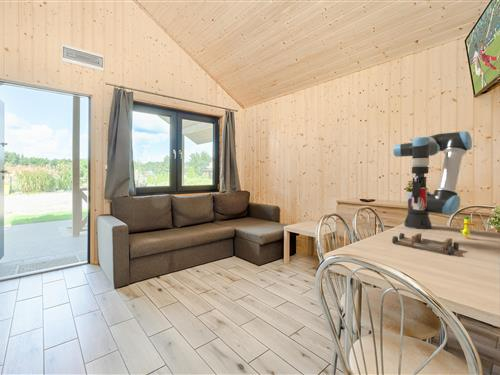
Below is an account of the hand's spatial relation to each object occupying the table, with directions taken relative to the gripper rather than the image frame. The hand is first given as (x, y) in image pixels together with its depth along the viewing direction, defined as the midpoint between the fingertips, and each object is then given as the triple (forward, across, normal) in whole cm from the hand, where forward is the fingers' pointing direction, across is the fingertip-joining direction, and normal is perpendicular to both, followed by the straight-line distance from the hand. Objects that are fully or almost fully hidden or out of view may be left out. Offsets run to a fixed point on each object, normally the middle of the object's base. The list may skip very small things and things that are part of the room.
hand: (418, 208), depth 140 cm
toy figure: (+17, -20, +18) cm, 32 cm away
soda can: (+1, 0, 0) cm, 1 cm away
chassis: (+17, +14, +7) cm, 23 cm away
